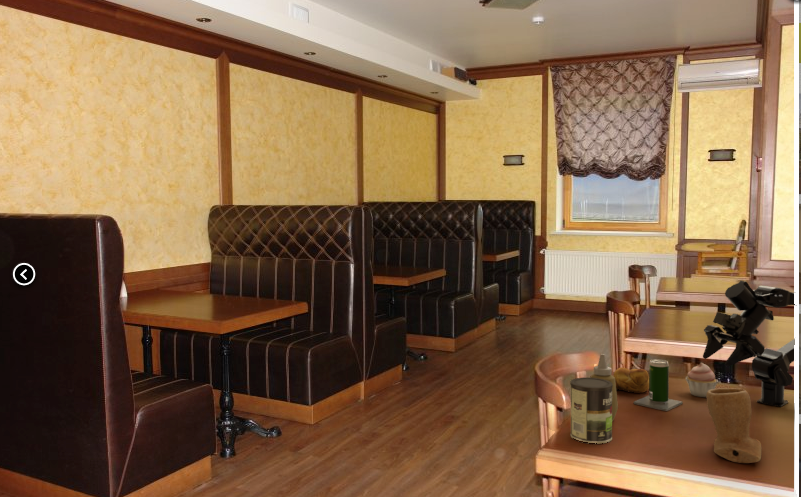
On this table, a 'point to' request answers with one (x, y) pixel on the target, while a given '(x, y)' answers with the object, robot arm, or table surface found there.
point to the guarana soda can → (658, 381)
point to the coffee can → (591, 410)
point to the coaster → (664, 407)
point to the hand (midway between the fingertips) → (714, 361)
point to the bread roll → (632, 380)
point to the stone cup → (733, 425)
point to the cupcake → (701, 380)
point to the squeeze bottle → (605, 373)
